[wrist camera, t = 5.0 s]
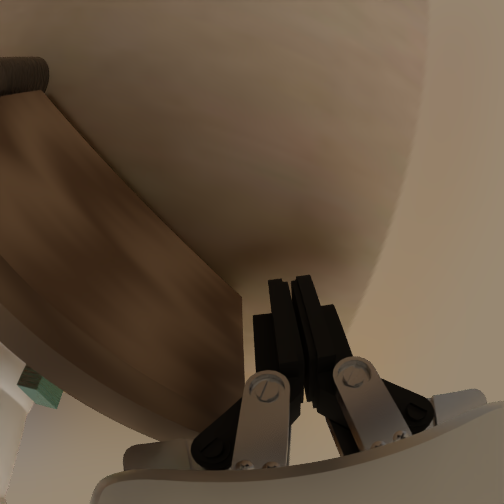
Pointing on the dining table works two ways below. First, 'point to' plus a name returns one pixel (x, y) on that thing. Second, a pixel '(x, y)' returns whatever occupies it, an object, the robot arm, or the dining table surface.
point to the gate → (107, 285)
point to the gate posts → (6, 83)
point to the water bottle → (10, 415)
